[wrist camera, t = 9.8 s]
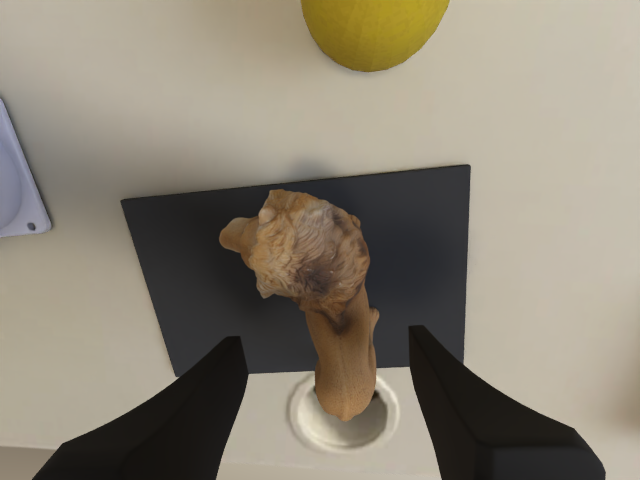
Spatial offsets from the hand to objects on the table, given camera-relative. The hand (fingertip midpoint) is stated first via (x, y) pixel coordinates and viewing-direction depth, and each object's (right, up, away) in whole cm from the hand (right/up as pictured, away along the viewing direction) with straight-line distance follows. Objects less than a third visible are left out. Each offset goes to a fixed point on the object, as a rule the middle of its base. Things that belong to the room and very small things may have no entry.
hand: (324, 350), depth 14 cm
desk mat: (-1, +2, +7) cm, 8 cm away
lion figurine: (0, +3, +7) cm, 7 cm away
